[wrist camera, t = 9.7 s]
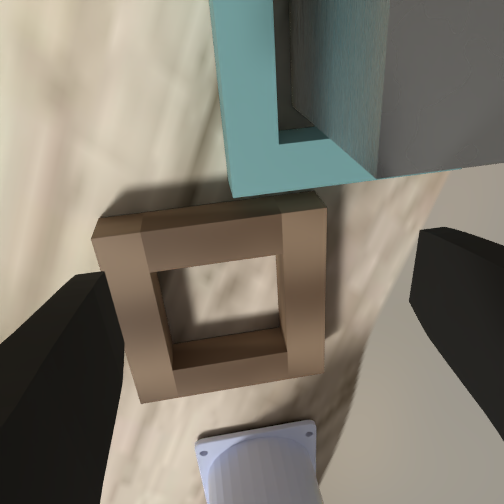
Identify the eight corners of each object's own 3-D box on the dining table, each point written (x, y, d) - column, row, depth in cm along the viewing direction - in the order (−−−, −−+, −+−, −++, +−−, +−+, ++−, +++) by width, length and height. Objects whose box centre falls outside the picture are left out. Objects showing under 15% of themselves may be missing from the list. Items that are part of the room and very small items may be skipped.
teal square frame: (437, 155, 20) (461, 168, 18) (228, 181, 19) (233, 197, 18) (479, -120, 15) (517, -136, 13) (198, -102, 14) (200, -117, 12)
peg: (382, 95, 18) (529, 159, 11) (292, 105, 18) (376, 179, 10) (390, -14, 16) (578, -31, 9) (288, -5, 16) (391, -15, 8)
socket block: (314, 348, 25) (323, 373, 24) (143, 375, 24) (140, 403, 23) (314, 190, 20) (327, 207, 18) (98, 218, 19) (90, 238, 18)
